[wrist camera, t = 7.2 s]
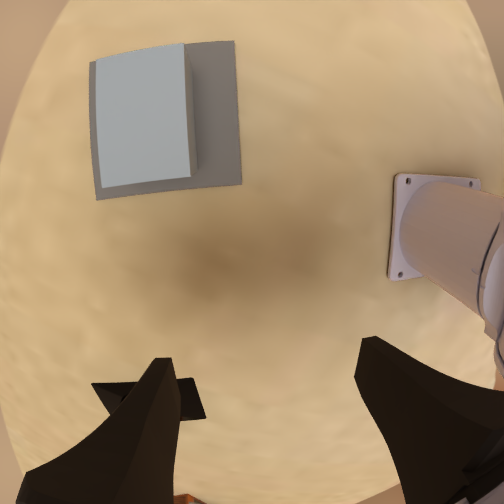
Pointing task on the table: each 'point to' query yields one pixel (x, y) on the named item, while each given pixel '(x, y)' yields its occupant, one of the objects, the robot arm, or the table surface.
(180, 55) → the brick
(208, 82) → the mat
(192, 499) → the milk carton
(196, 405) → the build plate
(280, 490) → the table surface
